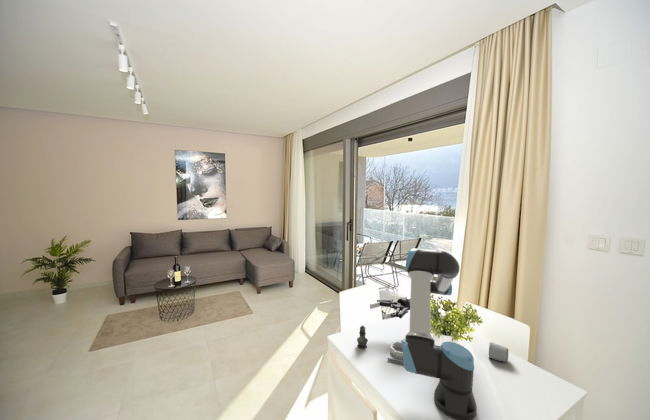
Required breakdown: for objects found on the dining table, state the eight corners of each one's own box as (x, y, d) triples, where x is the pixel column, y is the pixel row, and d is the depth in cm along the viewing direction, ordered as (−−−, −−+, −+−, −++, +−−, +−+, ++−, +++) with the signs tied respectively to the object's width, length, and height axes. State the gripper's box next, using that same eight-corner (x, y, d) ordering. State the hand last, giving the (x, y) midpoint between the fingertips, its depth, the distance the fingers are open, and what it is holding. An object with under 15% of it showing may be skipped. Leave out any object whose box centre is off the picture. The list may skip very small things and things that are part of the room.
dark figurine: (354, 344, 146) (355, 323, 145) (363, 342, 148) (364, 321, 147) (360, 350, 141) (360, 328, 140) (369, 347, 143) (370, 326, 142)
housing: (430, 371, 125) (431, 363, 124) (387, 360, 132) (388, 353, 132) (431, 354, 138) (431, 346, 138) (392, 344, 146) (392, 337, 146)
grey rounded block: (508, 366, 130) (509, 351, 129) (488, 360, 134) (489, 345, 133) (506, 355, 139) (507, 341, 138) (488, 350, 143) (489, 336, 142)
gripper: (422, 319, 147) (392, 328, 138) (391, 302, 169) (364, 308, 160) (422, 306, 147) (393, 314, 137) (391, 290, 169) (364, 296, 159)
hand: (377, 311), depth 148 cm, fingers open, 13 cm apart
